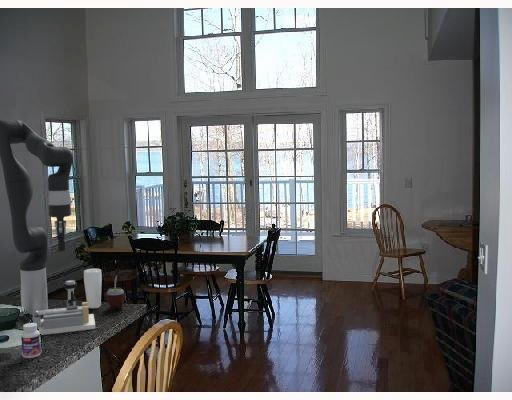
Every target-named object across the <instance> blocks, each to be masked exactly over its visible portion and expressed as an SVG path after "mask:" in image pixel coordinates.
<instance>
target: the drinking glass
mask: <svg viewBox="0 0 512 400" xmlns="http://www.w3.org/2000/svg"><path fill="white" fill-rule="evenodd" d="M102 280H103V276H102V269H100V268H88V269H85V270H83V283H84V291H85V297H86V302H88V309H98V308H100V307H101V306H102V303H101V302H102V301H101V300H102V285H103V284H102V283H103V282H102Z"/></svg>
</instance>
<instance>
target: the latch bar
mask: <svg viewBox="0 0 512 400" xmlns="http://www.w3.org/2000/svg"><path fill="white" fill-rule="evenodd" d="M78 306H79V305H78V304H75V305H72V306H67V305H66V307H61V308H60V307H59V308H52V309H51V308H50V309H49V308H48V310H37V309H36V310H35V311H34V316H35V317H37V316H38V315H40V316H42V315H43V316H44V315H46V314H56V313H66V312H76V311H83V310H82V307H83V306H82V305H80V306H79V307H78Z"/></svg>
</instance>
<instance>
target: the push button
mask: <svg viewBox="0 0 512 400" xmlns="http://www.w3.org/2000/svg"><path fill="white" fill-rule="evenodd" d="M77 285H78V282H76V280H73V279H71V280H66V281H65V283H63V288H64V289H65V290H66V291H67V296H66V307H67V306H72V305H78V304H77V303H78V302H77V297H76V296H75V292H74V290H75V289H76V288H77Z"/></svg>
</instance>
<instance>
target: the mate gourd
mask: <svg viewBox="0 0 512 400" xmlns="http://www.w3.org/2000/svg"><path fill="white" fill-rule="evenodd" d="M117 278H118V274H117V275H115V278H114V281H113V282H114V287H111V288H108V289H107V291H106V297H105V298H106V302H107V304H108V305H109V307H108V309H109V311H110V312H114V311H117V310H118V311H123V310H124V308H123V305H124V302H125V299H126V296H125V291H124V289H122V288H121V287H117V280H118V279H117Z"/></svg>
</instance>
